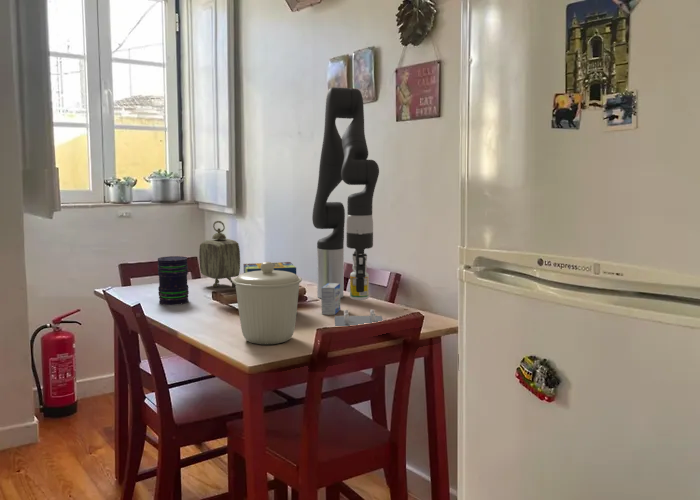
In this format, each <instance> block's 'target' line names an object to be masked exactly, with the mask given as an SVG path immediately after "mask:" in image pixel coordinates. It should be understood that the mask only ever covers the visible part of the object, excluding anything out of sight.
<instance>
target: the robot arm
mask: <svg viewBox="0 0 700 500" xmlns="http://www.w3.org/2000/svg"><path fill="white" fill-rule="evenodd" d="M324 112H325V114H324V129H323V140H322V145H321V150H320V151H321V152H320V159H319V167H318V169H319V170H318V180H317V188H316V192H315V193H316V194H315V196H314V197H315V199H314V202H313V203H314V204H313V209H312V224H313V227H314V228H315V229H320V230H329V229H331V230H332V232H331V233H330V234H328V235H327V236H325V237H322V238H320V239H318V240H317V243H316V252H317V253H316V259H317V260H316V263H317V267H316V270H317V271H316V272H317V273H316V274H317V278H316V279H317V280H316V281H317V282H316V283H317V285H316V287H317V288H316V289H317V291H316V292H317V298H318V299H321V288H322V287H324V286H325V285H326V284H328V283H338V284H340V299H342V298H344V293H345V292H344V291H345V290H344V289H345V287H344V284H345V283H344V277H345V275H344V269H345V267H344V266H345V265H344V262H345V261H344V259H345V258H344V257H345V256H344V255H345V254H344V251H345V249H344V244H345V222H346V247H347V248H348V249H355V250H354V252H353V253H352V262H353V264H352V266H353V265H354V270H353V272H354V271H356V276H355V278H356V291H357V292H364V279H365V277H366V275H365V271H366V272H367V270H366V265H367V261H368V255H367V253H365V249H368V250H369V249H371V248H373V246H374V219H373V200H374V199H373V198H374V194H375V188H376V186H377V183H378V179H379V175H380V168H379V165H378V163H377V161H376V160H373V159H369V149H368V143H367V140H366V135H365V111H364V99H363V95H362V91H361V90H359V89H357V88H352V87H351V88H348V87H336V86H335V87H330V88H329V89H328V91H327V94H326V99H325V111H324ZM336 119H350V120H351V119H352V121H351V122H350V124H348V126H347V127H346V128H345V130H344V131H343V134H342V137H341V134H340V133H339V131H338V130H339V129H338V127H337V125H336V124H337V123H336ZM342 181H343V182H344V184H347V185H349V186H364V188H363V190H361V191H359V192H355V193H350V194H349V195H348V196H347V204H346V206H347V208H346V209H347V214H346V211H345V207H344V204H343V203H342V202H341V201H329V202H327V201H328V199H329V197H330V195H331V194H332V192H333V191H334V190H335V189H336V188H337V187H338V186H339V185H340V183H341V182H342ZM346 215H347V217H346ZM346 218H347V219H346ZM358 271H363V273H358Z"/></svg>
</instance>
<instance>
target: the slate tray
mask: <svg viewBox="0 0 700 500" xmlns="http://www.w3.org/2000/svg"><path fill="white" fill-rule="evenodd" d="M369 313H370V314H369V315H349V309H344V310H343V315H334V327H335V326H350V325H358V324H364V323H372V322H378V321H382V320H383V321H384V319H383V316H382V315H376V313H375V309H370V311H369Z"/></svg>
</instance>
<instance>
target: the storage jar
mask: <svg viewBox="0 0 700 500" xmlns="http://www.w3.org/2000/svg"><path fill="white" fill-rule="evenodd" d="M157 275H158V289H157V290H158V299H159V300H158V301H159V302H158V303H159V305H162V306H163V305H164V306H177V305H183V304H187V303H189V293H190V292H189V287H190V286H189V285H188V275H189V267H188V256H187V257H186V256H180V255H179V256H178V255H177V256H174V255H173V256H162V257H158V258H157Z"/></svg>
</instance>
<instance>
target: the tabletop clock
mask: <svg viewBox="0 0 700 500" xmlns="http://www.w3.org/2000/svg"><path fill="white" fill-rule="evenodd" d="M217 223H219V224H221V225H222V227H223V229H221V227H220V228H219V227H218V228H217V229H216V228H215V225H216V224H217ZM212 227H213V230H214V231H215V233H214V234H213V235H212V238H211V239H209V240H204V241H203V242H201V243H200V245H199V249H198V251H199V259H198V260H199V269H200V273H201V275H203V276H205V277H207V278H211V279H215V280H214V283H213V284H212V286H213V288H217V287H218V284H219V283H220V280H222V279H227V280H228V281H229V282H230V283H231V287H232V288H236V285H235V284H234V283H233V279H232V278H237V277H238V276H239V275H240V272H241V271H240V270H241V249H240V244H239V243H238V241H236V240H235V239H231V238H227V236H226V234H225V233H223V232H224V231H225V229H226V227H225V223H224V222H222V221H221V220H216V221H214V223H213V225H212Z"/></svg>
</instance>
